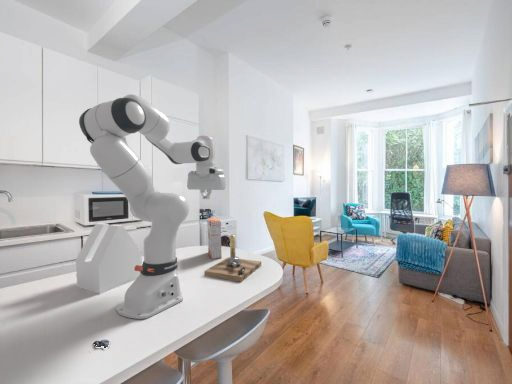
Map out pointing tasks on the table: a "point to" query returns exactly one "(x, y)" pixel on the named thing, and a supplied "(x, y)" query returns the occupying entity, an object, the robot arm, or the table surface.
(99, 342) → the blueberries
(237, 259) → the capstan
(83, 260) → the milk carton
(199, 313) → the table surface
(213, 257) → the cracker box
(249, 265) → the stand
